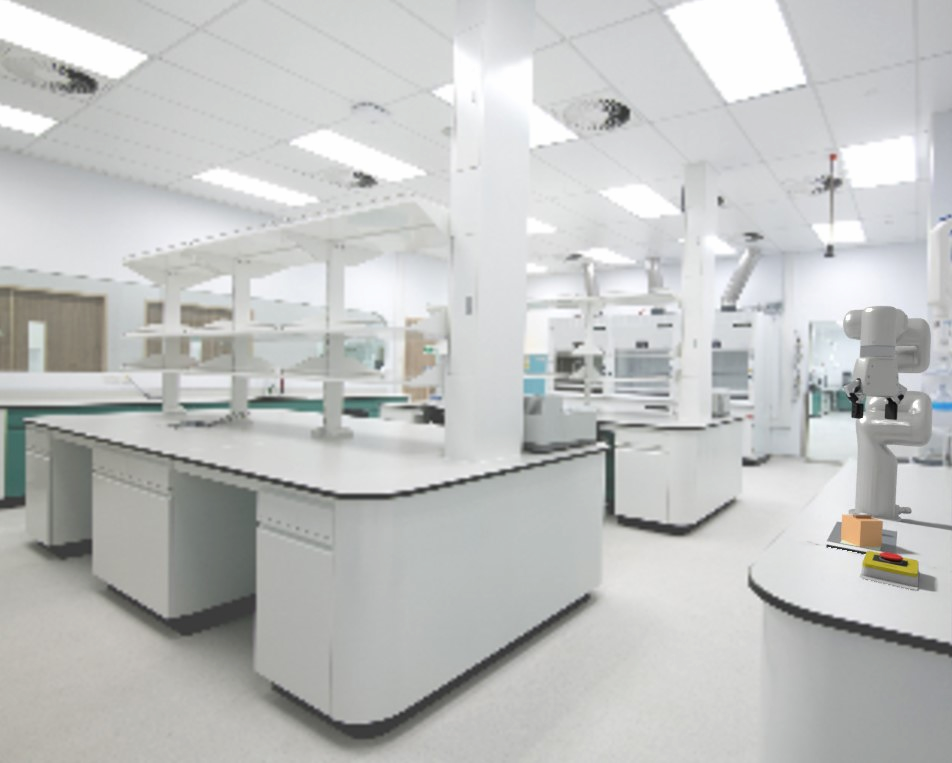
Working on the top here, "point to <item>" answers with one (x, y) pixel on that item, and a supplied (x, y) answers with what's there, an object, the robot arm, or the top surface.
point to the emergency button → (890, 570)
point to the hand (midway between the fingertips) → (873, 418)
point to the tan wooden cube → (862, 530)
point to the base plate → (887, 546)
